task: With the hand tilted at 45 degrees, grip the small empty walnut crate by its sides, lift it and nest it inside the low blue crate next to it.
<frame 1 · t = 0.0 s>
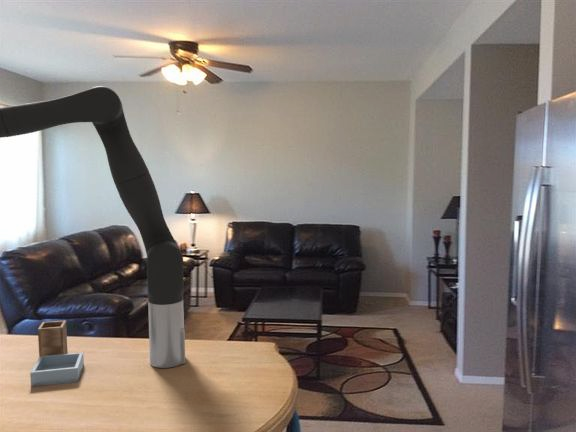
walnut crate: (54, 359, 135), on the table
blue crate: (58, 375, 126), on the table
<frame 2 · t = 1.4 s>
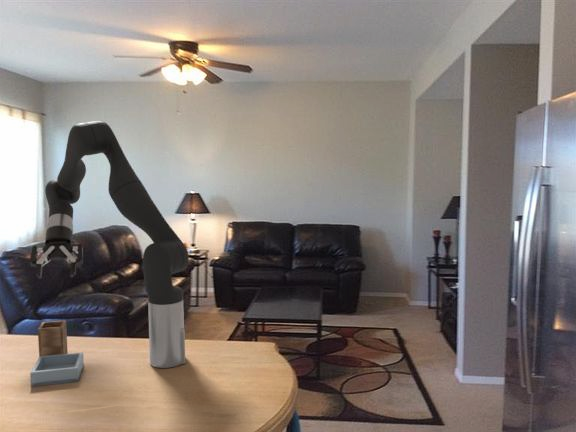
hand: (55, 276, 143), 21 cm above the table, tool tilted 45°, fingers open, 8 cm apart
nothing on the table moved.
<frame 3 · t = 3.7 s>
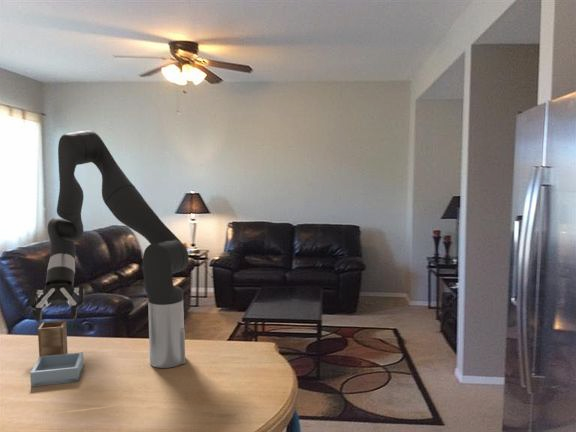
hand: (55, 320, 139), 10 cm above the table, tool tilted 45°, fingers open, 8 cm apart
nothing on the table moved.
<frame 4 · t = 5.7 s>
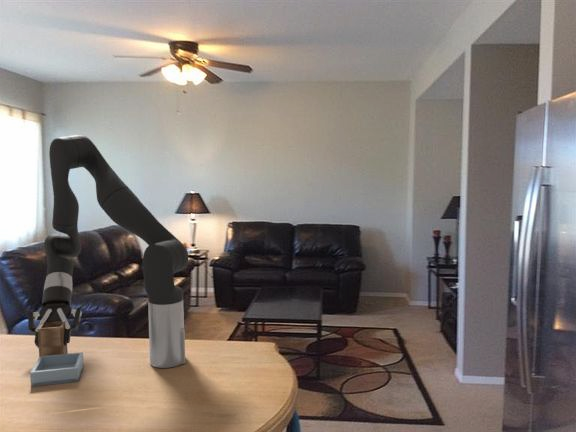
hand: (52, 345, 133), 5 cm above the table, tool tilted 45°, fingers closed on walnut crate, 6 cm apart
walnut crate: (54, 359, 135), on the table, touching gripper
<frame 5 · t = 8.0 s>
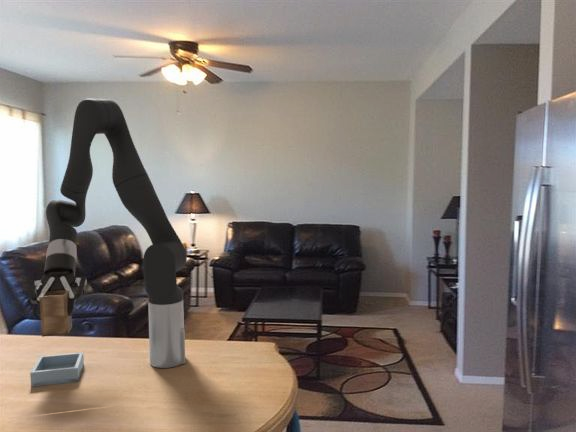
hand: (55, 315, 123), 16 cm above the table, tool tilted 45°, fingers closed on walnut crate, 6 cm apart
walnut crate: (57, 331, 125), point 11 cm above the table, touching gripper
when the fingers open (7 cm above the table, at t = 10.3 s): walnut crate drops 2 cm, resting on blue crate.
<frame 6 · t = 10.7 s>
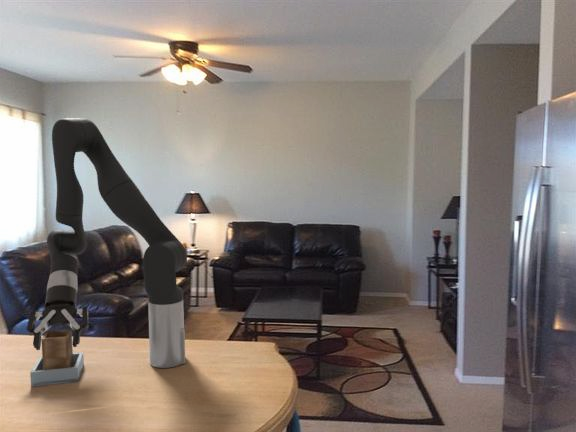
hand: (56, 347, 123), 8 cm above the table, tool tilted 45°, fingers open, 8 cm apart
walnut crate: (58, 371, 126), point 1 cm above the table, touching blue crate
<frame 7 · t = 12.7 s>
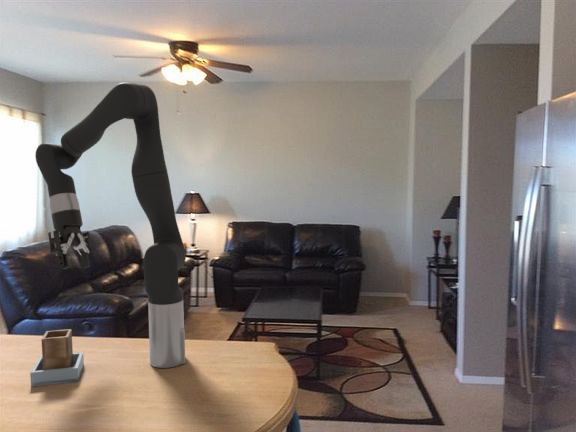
hand: (75, 268, 137), 25 cm above the table, tool tilted 20°, fingers open, 8 cm apart
nothing on the table moved.
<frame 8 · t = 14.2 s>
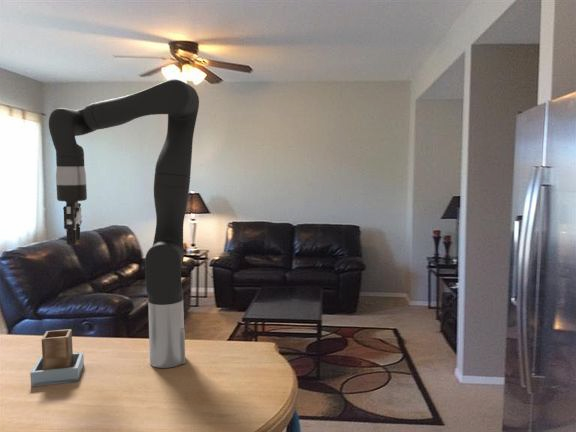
hand: (74, 241, 136), 32 cm above the table, tool pointing down, fingers open, 8 cm apart
nothing on the table moved.
at the end: walnut crate 0.1 cm off-centre on the blue crate, point 0.8 cm above the blue crate's base; walnut crate tilted 0°; the gripper is holding nothing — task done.
